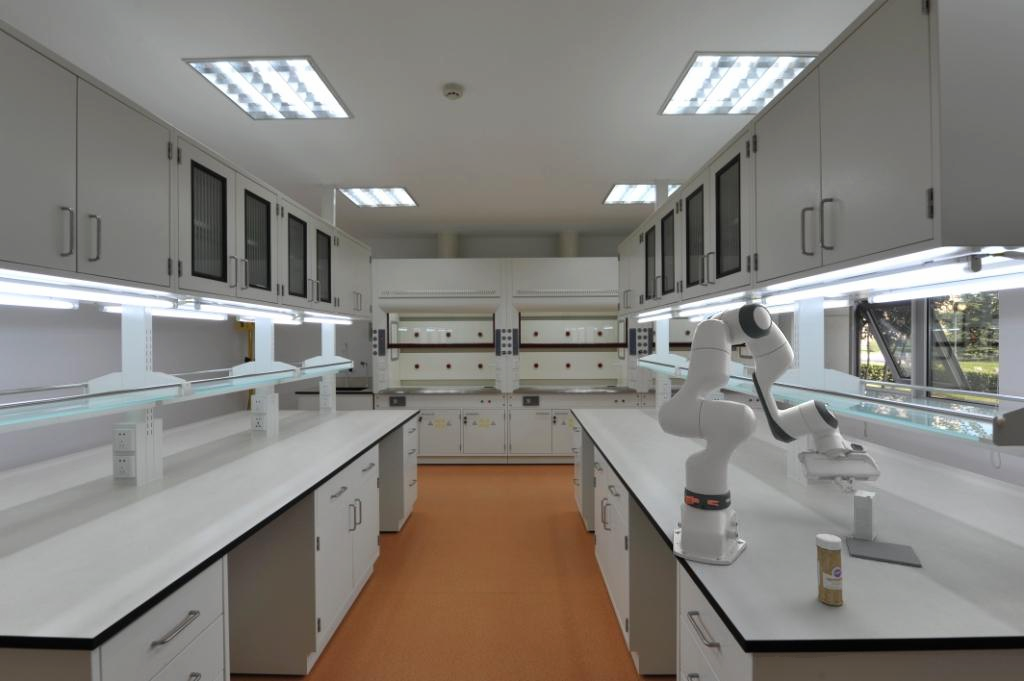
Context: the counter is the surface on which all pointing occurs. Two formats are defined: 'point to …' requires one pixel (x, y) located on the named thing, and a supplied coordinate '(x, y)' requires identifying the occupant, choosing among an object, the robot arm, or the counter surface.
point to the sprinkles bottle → (829, 569)
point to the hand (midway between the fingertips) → (849, 492)
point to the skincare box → (865, 515)
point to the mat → (882, 551)
